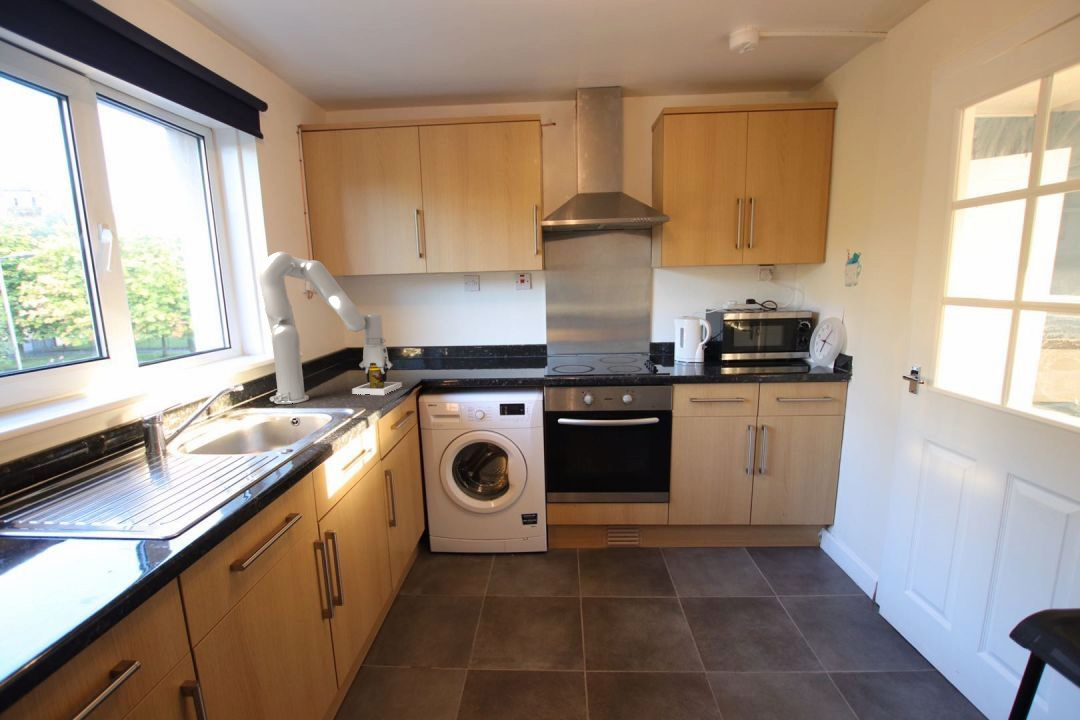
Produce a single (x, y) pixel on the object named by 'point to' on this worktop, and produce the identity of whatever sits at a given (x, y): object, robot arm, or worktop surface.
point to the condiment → (375, 377)
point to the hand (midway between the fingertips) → (376, 381)
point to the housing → (365, 390)
